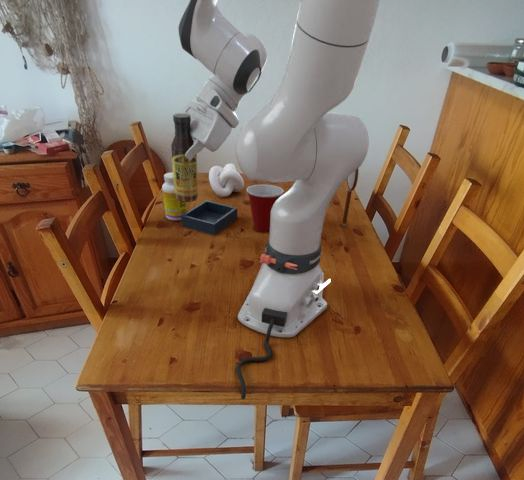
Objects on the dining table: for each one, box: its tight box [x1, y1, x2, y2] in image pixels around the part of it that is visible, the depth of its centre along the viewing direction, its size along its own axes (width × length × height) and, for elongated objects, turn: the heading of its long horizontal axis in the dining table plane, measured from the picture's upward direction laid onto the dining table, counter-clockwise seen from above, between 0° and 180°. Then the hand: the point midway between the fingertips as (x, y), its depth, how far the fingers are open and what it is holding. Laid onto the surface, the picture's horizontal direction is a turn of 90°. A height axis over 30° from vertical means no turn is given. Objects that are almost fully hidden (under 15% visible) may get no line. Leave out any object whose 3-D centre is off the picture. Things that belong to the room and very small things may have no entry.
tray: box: [181, 200, 238, 236], centre depth 127 cm, size 14×12×3 cm
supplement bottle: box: [161, 171, 188, 222], centre depth 126 cm, size 7×7×13 cm
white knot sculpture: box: [208, 162, 245, 198], centre depth 143 cm, size 11×12×9 cm
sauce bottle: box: [170, 112, 199, 203], centre depth 104 cm, size 6×6×20 cm
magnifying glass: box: [342, 168, 360, 227], centre depth 123 cm, size 9×2×20 cm, turn 4°
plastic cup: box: [246, 184, 285, 233], centre depth 122 cm, size 11×11×12 cm
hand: (180, 153), depth 102 cm, fingers closed on sauce bottle, 6 cm apart
